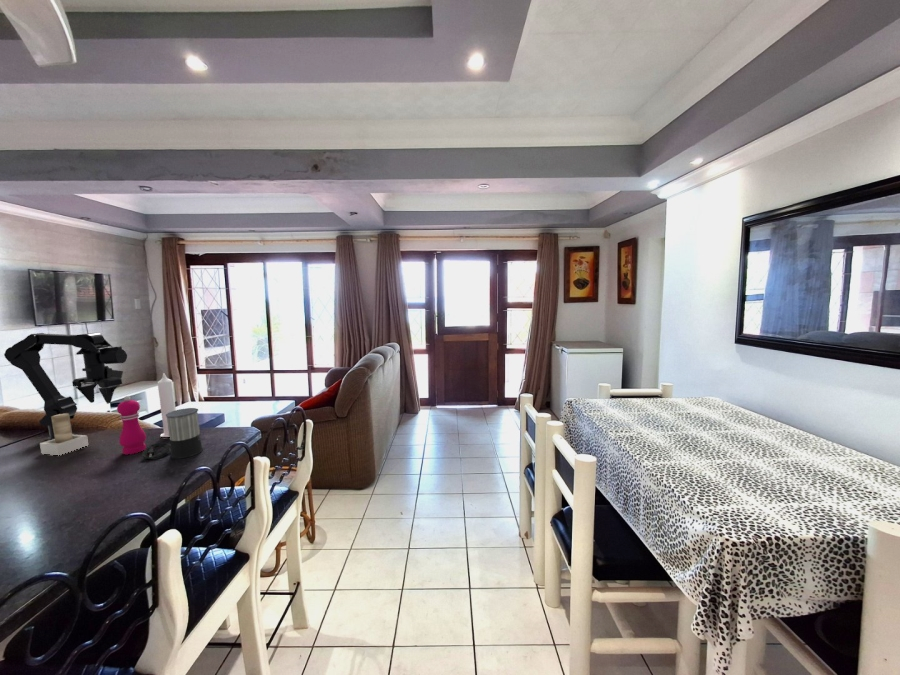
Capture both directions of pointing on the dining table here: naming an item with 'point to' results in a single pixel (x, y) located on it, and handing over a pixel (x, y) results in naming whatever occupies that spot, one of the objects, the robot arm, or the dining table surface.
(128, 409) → the pepper mill
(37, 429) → the dining table surface
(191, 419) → the milk frother
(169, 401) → the candle
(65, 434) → the birch peg
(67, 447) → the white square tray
